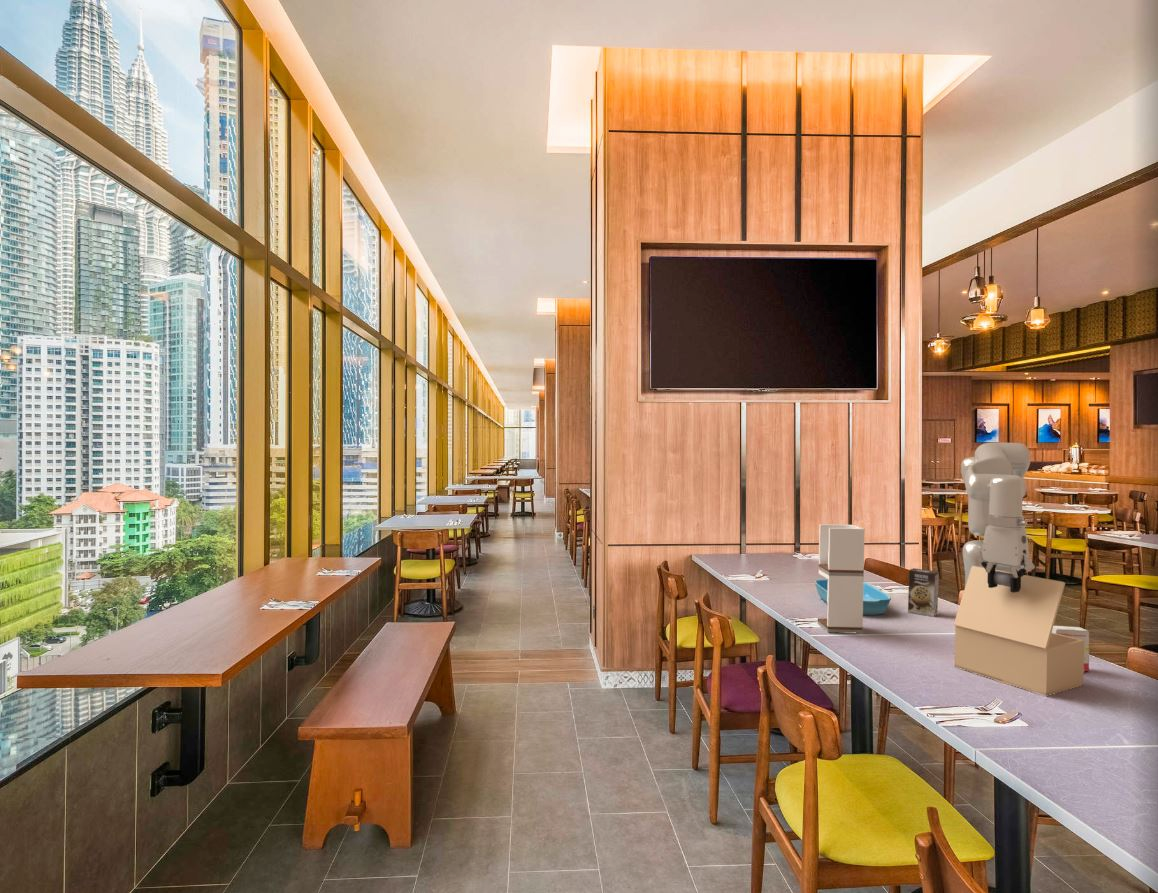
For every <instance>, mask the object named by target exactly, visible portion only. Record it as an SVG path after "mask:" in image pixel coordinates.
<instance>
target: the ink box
mask: <svg viewBox="0 0 1158 893" xmlns="http://www.w3.org/2000/svg"><path fill="white" fill-rule="evenodd" d="M1052 633H1056V634H1060V635H1064V636H1068V637H1072V638H1076V639H1081V640H1084V673H1086V672H1085V671H1089V672H1090V631H1088V629H1084V628H1082V627H1080V626H1065V625H1064V626H1063V625H1062V626H1061V625H1054V626H1053V629H1052Z"/></svg>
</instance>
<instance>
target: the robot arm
mask: <svg viewBox="0 0 1158 893" xmlns="http://www.w3.org/2000/svg"><path fill="white" fill-rule="evenodd" d="M1031 460H1032V459H1031V452H1030V450H1029V448H1028V446H1026V444H1023V443H1021V442H1020V443H1019V442H985V443H983V444H981V445H979V446H978V447H977V448H976V449H975V451H974V456H970V457H969V456H968V457H966V458H964V459H963V460H962V462H961V464H960V473H961V476H962V480H963V483H964V486H965V490H966V494H967V496H968V498H967V499H968V502H967V503H968V504H967V506H968V507H967V509H968V511H967V512H968V513H967V516H968V517H967V523H968V524H967V525H968V530H969V532H970V533H971V534H972V535H973V536H978V537H983V540H982V539H981V540H978V539H977V540H975V539H974V540H970V541H967V542H966V543H965V544H964V545H963V546H962V559H963V564H964V565H963V567H964V587H965V586H966V583H967V580H968V577H969V574H970V570H971V567H972V566H976V567H982V568H985V570H986V572H987V573H988V581H987V582H988V587H989V588H994V587H997V584H995V583H994V582H993V575H994V573H995V572H996V570H999V571H1004V572H1010V573H1012V574H1013V577H1011V584H1010V591H1011V592H1013V593H1014V592H1019V591H1020V589H1021V577H1023V575H1027V574H1028V573H1029V572H1030V571H1033V570H1034V569H1035V567H1036V566H1035V565H1034V563H1033V562H1032V560H1031V559H1030V549H1029V541H1028V540H1029V539H1028V536H1027V530H1026V526H1027V525H1028V521H1027V520H1025V518H1024V515H1023V500H1024V499H1023V498H1024V497H1026V492H1027V483H1026V481H1025V480H1024V478H1025V477H1026V474H1027V471H1028V470H1029V467H1030V466H1031Z"/></svg>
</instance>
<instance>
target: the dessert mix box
mask: <svg viewBox="0 0 1158 893" xmlns="http://www.w3.org/2000/svg"><path fill="white" fill-rule="evenodd" d="M939 576H940V572H939V571H935V570H928V569H923V568H922V569H920V568H915V567H914V568H910V569H909V571H908V596H907V597H908V598H907V601H908V602H907V603H908V604H907V613H911V614H915V613H916V615H920V614H922V615H921V616H926V615H928V616H927V617H932V616H934V615H935V616H936V614H937V613H938V614H939V612H938V606H939V605H938V604H939V582H940V580H939V578H940V577H939ZM938 614H937V615H938ZM935 616H934V617H935Z"/></svg>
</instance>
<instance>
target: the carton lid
mask: <svg viewBox="0 0 1158 893" xmlns="http://www.w3.org/2000/svg"><path fill="white" fill-rule="evenodd" d="M1011 577H1013V574H1012V572H1008V571H999V570H996V572H995V573H994V575H993V582H994V583H995V584H997V587H994V588H989V587H988V582H987V581H988V573H987V572H986V570H985V568H982V567H976V566H972V567H971V570H970V574H969V577H968V580H967V583H966V586H965V585H964V590H963V593H962V597H961V601H960V603H959V607H958V609H957V612H956V615H955V620H954V622H953V625H954V626H959V627H963V628H967V629H971V630H975V631H978V632H982V633H986V634H990V635H994V636H997V637H1001V638H1005V639H1009V640H1013V641H1017V642H1020V643H1024V644H1028V645H1032V646H1036V647H1039V648H1043V649H1047V647H1048V644H1049V640H1050V637H1051V633H1052V629H1053V626H1055V622H1056V618H1057V615H1058V611H1059V608H1060V604H1061V600H1062V597H1063V593H1064V589H1065V585H1066V582H1064V581H1061V580H1055V579H1050V578H1042V577H1039V576H1033V575H1032V576H1031V575H1027V574H1025V575H1023V577H1021V589H1020V591H1019V592H1014V593H1013V592H1011V591H1010V584H1011Z"/></svg>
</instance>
